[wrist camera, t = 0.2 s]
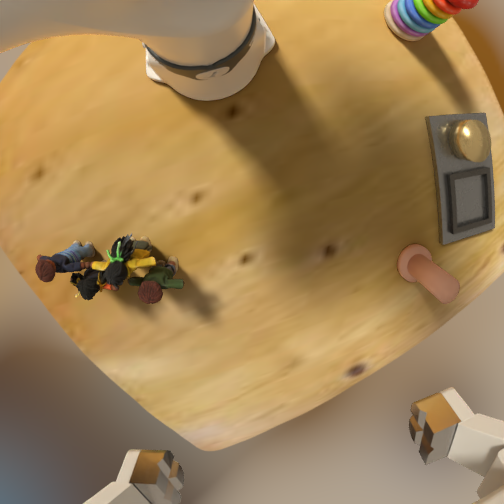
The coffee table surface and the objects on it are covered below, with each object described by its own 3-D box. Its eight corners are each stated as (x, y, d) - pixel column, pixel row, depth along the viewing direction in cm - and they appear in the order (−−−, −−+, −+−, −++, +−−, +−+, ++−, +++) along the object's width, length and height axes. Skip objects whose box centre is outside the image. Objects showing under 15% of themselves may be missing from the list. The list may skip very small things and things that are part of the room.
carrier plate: (425, 116, 41) (442, 115, 36) (481, 112, 40) (498, 112, 36) (439, 242, 48) (454, 252, 44) (491, 226, 48) (506, 233, 43)
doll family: (71, 284, 49) (33, 322, 36) (57, 236, 46) (12, 264, 33) (193, 270, 49) (177, 314, 36) (182, 214, 46) (160, 241, 33)
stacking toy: (383, 35, 37) (448, -5, 19) (380, -4, 34) (436, -52, 16) (424, 47, 37) (496, 20, 19) (420, 9, 34) (484, -27, 17)
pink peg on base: (395, 248, 48) (432, 277, 37) (426, 240, 48) (466, 265, 37) (397, 282, 51) (431, 316, 39) (427, 273, 50) (464, 303, 39)
